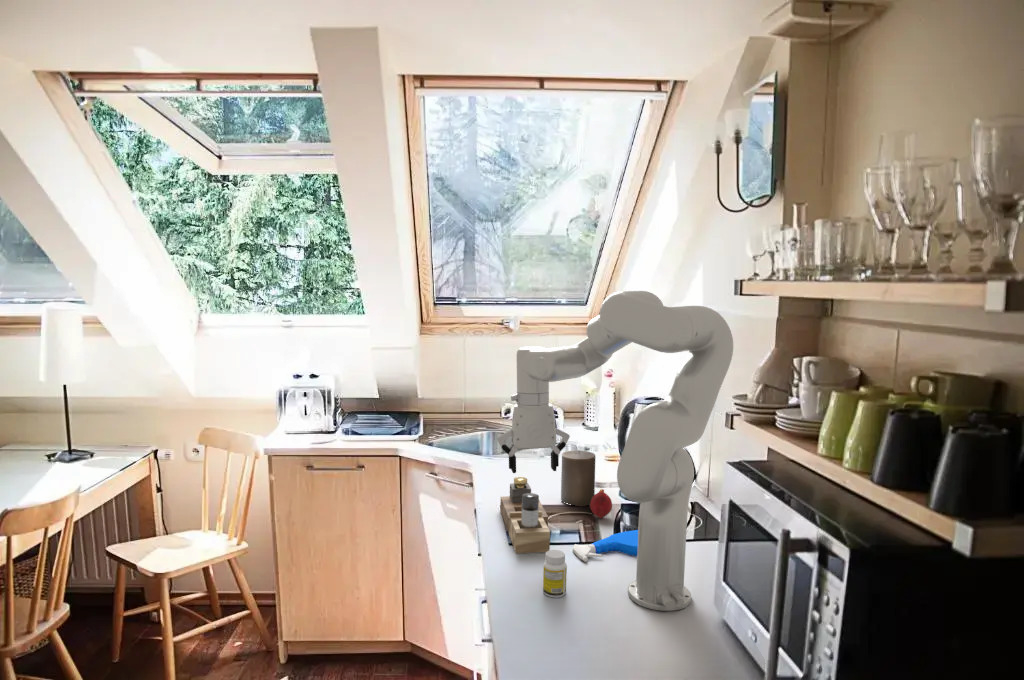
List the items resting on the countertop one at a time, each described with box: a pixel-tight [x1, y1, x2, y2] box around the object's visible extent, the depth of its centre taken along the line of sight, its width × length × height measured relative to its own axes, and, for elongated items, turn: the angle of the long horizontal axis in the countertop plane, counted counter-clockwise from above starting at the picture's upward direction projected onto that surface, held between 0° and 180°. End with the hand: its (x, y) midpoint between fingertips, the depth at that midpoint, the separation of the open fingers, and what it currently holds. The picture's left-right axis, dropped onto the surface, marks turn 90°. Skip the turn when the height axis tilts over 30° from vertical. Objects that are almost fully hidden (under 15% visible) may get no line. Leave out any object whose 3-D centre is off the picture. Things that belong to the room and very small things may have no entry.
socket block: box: [499, 482, 549, 534], centre depth 181 cm, size 16×10×8 cm, turn 8°
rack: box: [508, 511, 551, 554], centre depth 167 cm, size 11×8×6 cm
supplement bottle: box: [542, 549, 568, 599], centre depth 142 cm, size 5×5×8 cm
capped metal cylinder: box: [521, 492, 540, 529], centre depth 166 cm, size 4×4×12 cm
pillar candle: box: [560, 449, 596, 507], centre depth 197 cm, size 10×10×15 cm
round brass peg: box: [513, 476, 528, 488], centre depth 186 cm, size 4×4×4 cm
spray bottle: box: [572, 529, 638, 563], centre depth 164 cm, size 3×11×24 cm
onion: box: [589, 488, 613, 519], centre depth 184 cm, size 6×6×8 cm
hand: (533, 470), depth 164 cm, fingers open, 9 cm apart
